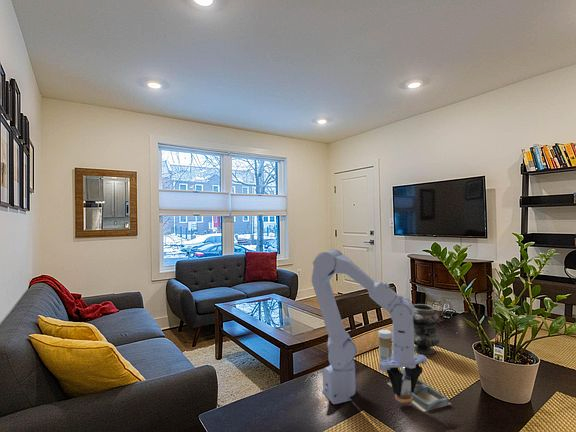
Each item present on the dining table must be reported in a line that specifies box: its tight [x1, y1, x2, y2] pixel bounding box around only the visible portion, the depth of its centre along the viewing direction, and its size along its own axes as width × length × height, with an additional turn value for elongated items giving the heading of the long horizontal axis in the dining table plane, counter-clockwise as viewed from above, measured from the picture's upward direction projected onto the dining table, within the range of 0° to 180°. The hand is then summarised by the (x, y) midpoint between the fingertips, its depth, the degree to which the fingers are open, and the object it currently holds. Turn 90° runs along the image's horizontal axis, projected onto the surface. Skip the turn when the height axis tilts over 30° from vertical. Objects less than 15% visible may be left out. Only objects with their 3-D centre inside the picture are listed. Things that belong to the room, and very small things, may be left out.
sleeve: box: [394, 374, 413, 405], centre depth 89 cm, size 5×5×6 cm
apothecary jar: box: [413, 303, 441, 358], centre depth 127 cm, size 12×12×18 cm
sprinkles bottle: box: [377, 329, 393, 362], centre depth 113 cm, size 5×5×13 cm
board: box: [386, 378, 452, 412], centre depth 95 cm, size 10×16×3 cm, turn 19°
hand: (403, 392), depth 89 cm, fingers closed on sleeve, 4 cm apart
